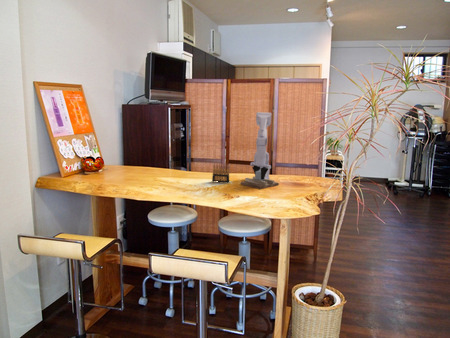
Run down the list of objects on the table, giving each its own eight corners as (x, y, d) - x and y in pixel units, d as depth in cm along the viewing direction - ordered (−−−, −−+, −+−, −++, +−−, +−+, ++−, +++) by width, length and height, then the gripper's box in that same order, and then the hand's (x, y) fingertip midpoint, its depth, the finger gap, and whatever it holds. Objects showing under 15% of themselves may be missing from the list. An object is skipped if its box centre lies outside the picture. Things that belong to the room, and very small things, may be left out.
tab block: (259, 180, 234) (259, 170, 233) (264, 181, 231) (264, 171, 230) (255, 180, 231) (255, 171, 230) (260, 181, 228) (260, 172, 227)
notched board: (258, 180, 244) (258, 175, 243) (278, 185, 233) (278, 179, 232) (240, 184, 231) (240, 178, 230) (260, 189, 220) (260, 183, 219)
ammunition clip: (212, 181, 235) (212, 163, 233) (212, 181, 237) (213, 162, 235) (228, 183, 233) (229, 164, 231) (229, 182, 235) (230, 163, 233)
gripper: (247, 155, 231) (246, 177, 233) (266, 158, 221) (265, 181, 223) (254, 155, 236) (253, 176, 238) (273, 157, 226) (272, 179, 228)
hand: (259, 178), depth 231 cm, fingers closed on tab block, 4 cm apart
